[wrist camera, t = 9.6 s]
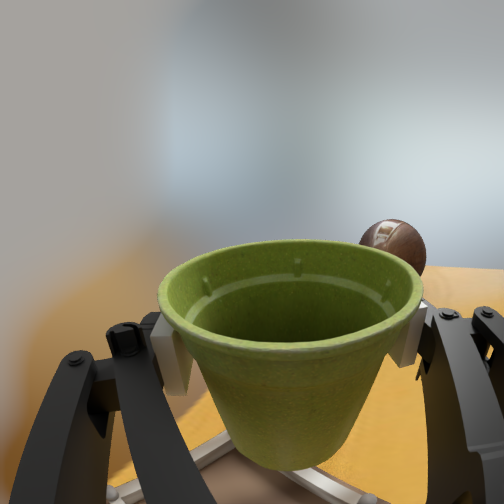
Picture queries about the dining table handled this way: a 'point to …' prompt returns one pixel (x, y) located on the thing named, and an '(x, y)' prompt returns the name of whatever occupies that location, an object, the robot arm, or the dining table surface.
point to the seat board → (254, 481)
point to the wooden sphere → (397, 242)
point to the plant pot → (290, 338)
